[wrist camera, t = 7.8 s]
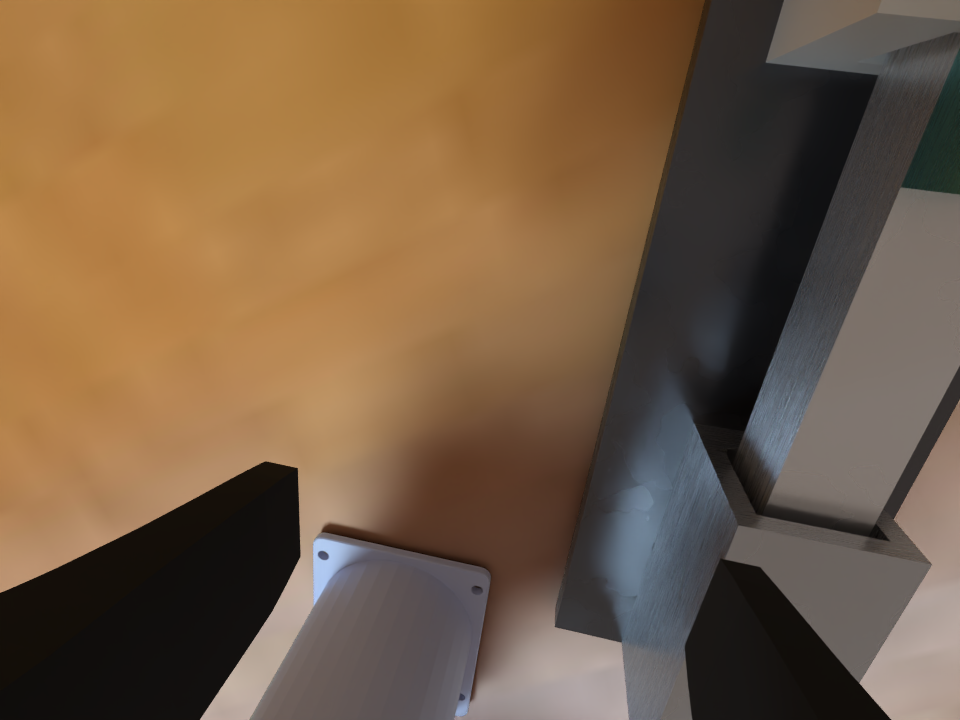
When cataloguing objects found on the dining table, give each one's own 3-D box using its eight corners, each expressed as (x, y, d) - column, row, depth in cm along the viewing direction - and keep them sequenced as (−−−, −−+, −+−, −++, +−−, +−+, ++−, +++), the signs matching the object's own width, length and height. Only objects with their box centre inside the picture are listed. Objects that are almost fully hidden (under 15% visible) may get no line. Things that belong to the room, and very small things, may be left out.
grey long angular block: (793, 661, 22) (869, 842, 16) (555, 607, 23) (549, 759, 17) (1190, -94, 12) (1758, -318, 6) (736, -128, 13) (864, -345, 7)
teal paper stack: (797, 533, 16) (961, 815, 9) (713, 515, 17) (812, 777, 10) (1080, -78, 10) (2132, -544, 3) (939, -88, 11) (1639, -539, 4)
